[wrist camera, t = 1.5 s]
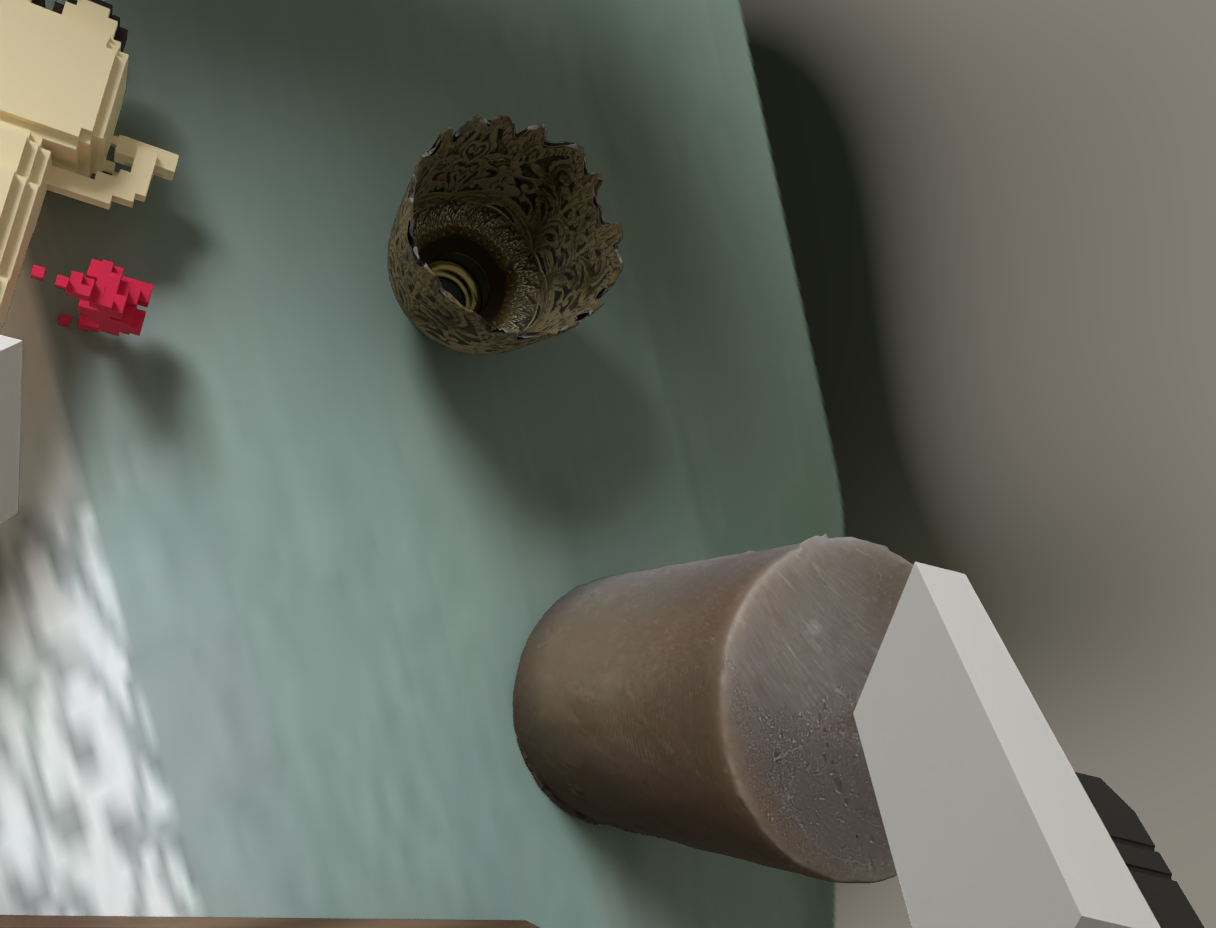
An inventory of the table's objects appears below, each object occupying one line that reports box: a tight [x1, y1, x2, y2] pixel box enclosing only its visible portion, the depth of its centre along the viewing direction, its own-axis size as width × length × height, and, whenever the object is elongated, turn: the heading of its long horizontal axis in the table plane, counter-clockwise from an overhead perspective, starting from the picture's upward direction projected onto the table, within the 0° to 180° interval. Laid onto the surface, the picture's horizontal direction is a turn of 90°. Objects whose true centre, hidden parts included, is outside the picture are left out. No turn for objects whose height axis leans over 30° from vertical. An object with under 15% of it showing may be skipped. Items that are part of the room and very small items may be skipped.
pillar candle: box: [513, 533, 914, 883], centre depth 35 cm, size 10×10×15 cm
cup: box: [388, 115, 623, 355], centre depth 37 cm, size 8×7×8 cm
